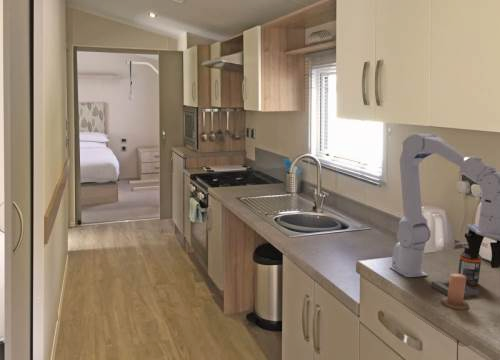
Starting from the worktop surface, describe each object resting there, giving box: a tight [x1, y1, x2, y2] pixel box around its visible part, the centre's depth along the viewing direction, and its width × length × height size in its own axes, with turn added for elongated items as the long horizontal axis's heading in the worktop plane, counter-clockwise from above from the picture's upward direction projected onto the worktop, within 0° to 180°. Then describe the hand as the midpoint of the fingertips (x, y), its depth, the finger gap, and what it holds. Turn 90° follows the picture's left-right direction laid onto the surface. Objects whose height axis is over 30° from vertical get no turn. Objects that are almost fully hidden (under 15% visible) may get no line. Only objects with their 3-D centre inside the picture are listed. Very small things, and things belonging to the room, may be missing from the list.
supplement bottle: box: [457, 244, 482, 286], centre depth 153 cm, size 6×6×11 cm
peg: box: [446, 273, 466, 305], centre depth 135 cm, size 4×4×8 cm
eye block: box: [430, 279, 480, 298], centre depth 146 cm, size 9×9×2 cm
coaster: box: [440, 296, 469, 311], centre depth 136 cm, size 7×7×1 cm
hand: (484, 262), depth 140 cm, fingers open, 7 cm apart
